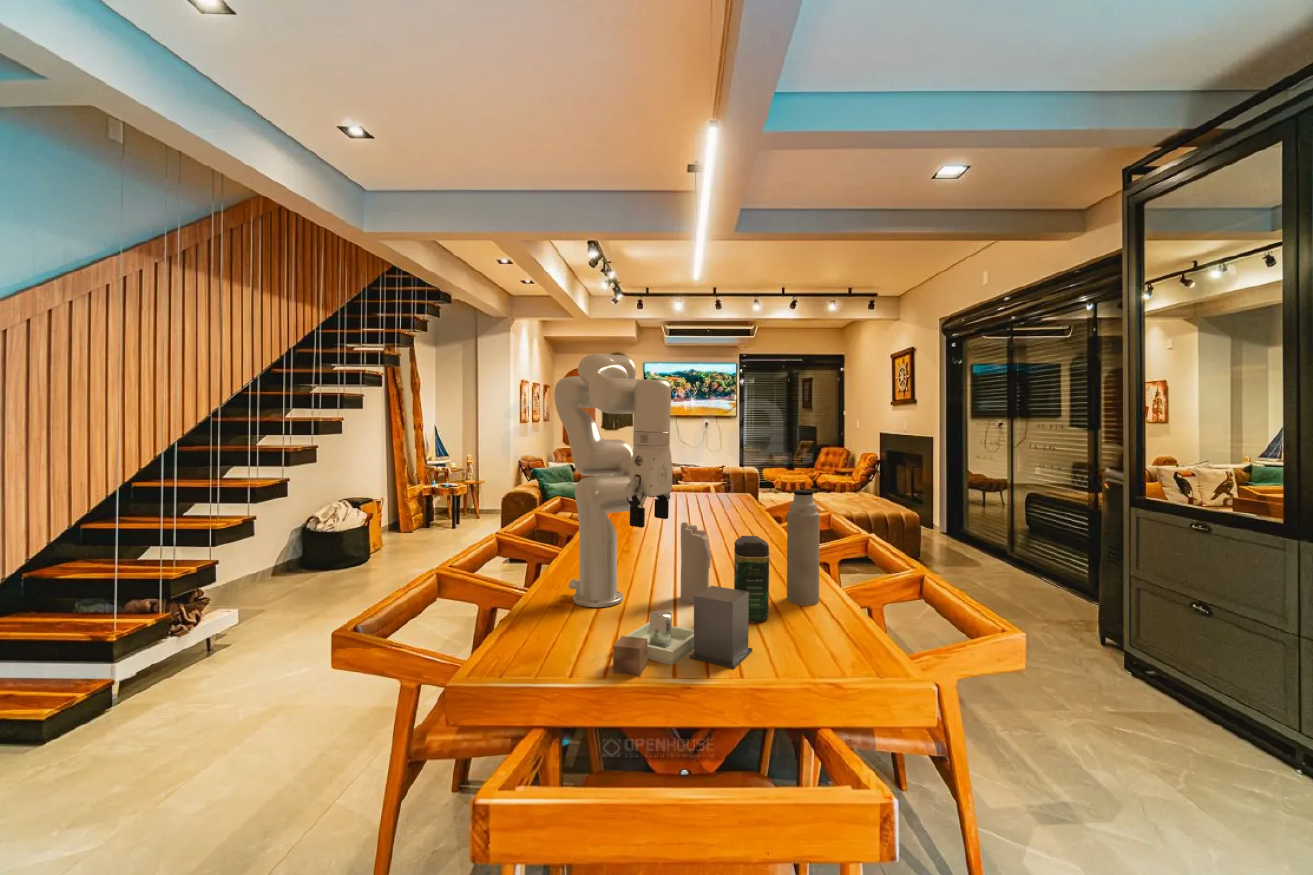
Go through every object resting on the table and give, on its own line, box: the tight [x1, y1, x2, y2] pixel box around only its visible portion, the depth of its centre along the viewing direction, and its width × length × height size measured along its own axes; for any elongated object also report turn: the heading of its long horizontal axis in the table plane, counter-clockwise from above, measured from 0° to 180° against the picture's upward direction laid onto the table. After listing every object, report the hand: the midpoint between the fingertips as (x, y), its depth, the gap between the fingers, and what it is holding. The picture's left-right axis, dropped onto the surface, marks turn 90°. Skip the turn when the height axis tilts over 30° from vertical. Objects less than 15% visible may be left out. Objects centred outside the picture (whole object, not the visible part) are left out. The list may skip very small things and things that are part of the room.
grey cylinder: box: [649, 610, 673, 648], centre depth 116 cm, size 4×4×6 cm
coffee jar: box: [733, 535, 770, 623], centre depth 134 cm, size 10×8×19 cm
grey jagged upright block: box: [680, 521, 712, 604], centre depth 146 cm, size 7×14×20 cm, turn 73°
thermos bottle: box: [786, 489, 821, 606], centre depth 146 cm, size 8×8×28 cm
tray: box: [625, 621, 694, 666], centre depth 116 cm, size 12×12×2 cm
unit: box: [689, 585, 753, 670], centre depth 112 cm, size 9×9×12 cm
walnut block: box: [612, 635, 648, 677], centre depth 106 cm, size 5×5×5 cm
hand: (649, 522), depth 120 cm, fingers open, 9 cm apart
